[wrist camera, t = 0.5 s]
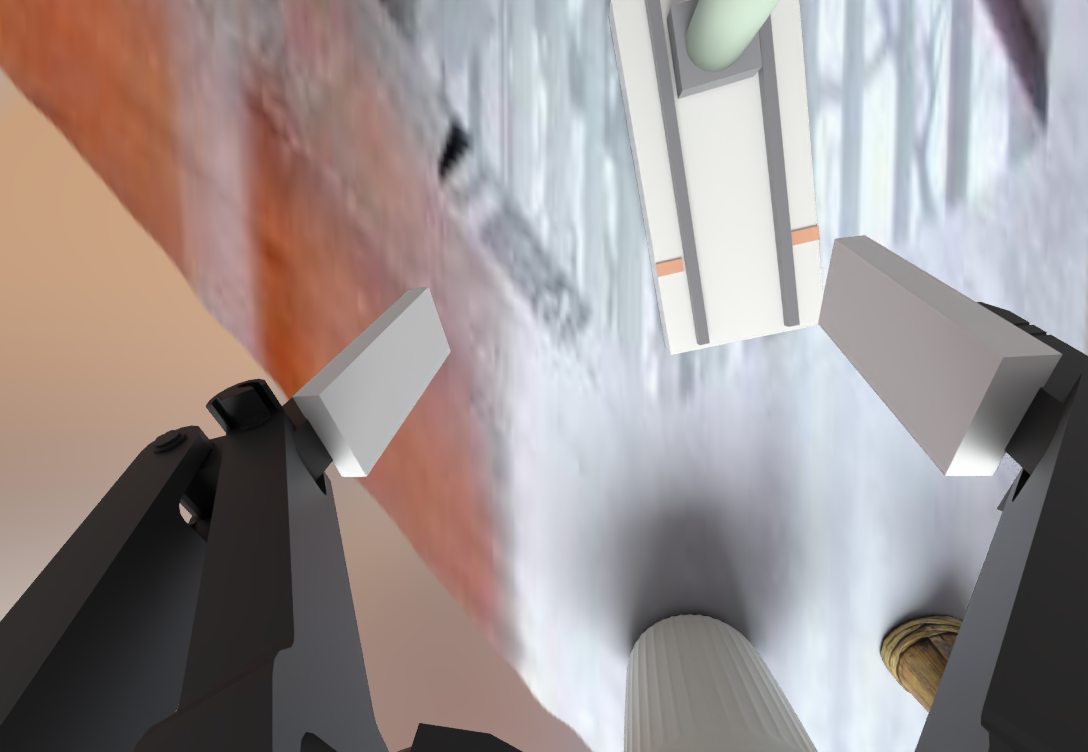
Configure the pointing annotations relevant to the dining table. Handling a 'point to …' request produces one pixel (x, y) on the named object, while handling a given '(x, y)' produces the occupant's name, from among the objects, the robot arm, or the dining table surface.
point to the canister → (705, 693)
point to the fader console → (722, 183)
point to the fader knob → (715, 42)
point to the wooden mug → (920, 654)
